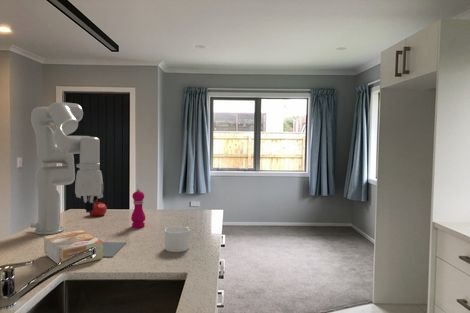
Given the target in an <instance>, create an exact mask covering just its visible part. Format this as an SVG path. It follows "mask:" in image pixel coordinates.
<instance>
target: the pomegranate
mask: <svg viewBox="0 0 470 313" xmlns="http://www.w3.org/2000/svg"><path fill="white" fill-rule="evenodd" d="M98 201H99V200H98V199H96V200H95V202H94V210H93V211H92V212H91V213H89V212H88V214H89V215H90V216H91V217H102V216H104V215H105V214H106V213H107V212H108V211H107V210H108V207H107V205H106V204H105V203H103V202H102V201H100V202H98Z"/></svg>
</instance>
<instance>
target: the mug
mask: <svg viewBox="0 0 470 313" xmlns="http://www.w3.org/2000/svg"><path fill="white" fill-rule="evenodd" d="M190 234H191V227H190V226H171V227H166V228H165V229H164V247H165V248H164V250H165V251H167V252H170V253H171V252H172V253H180V252H181V253H183V252H186V251H188V250H189V249H190Z"/></svg>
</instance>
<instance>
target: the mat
mask: <svg viewBox="0 0 470 313" xmlns="http://www.w3.org/2000/svg"><path fill="white" fill-rule="evenodd" d="M126 244H127V242H118V241H117V242H114V241H113V242H112V241H111V242H110V241H109V242H108V241H107V242H106V241H105V242H103V258H114V256H116V254H118V253H119V252H120V250H122V248H124V246H125V245H126Z"/></svg>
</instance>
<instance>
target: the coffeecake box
mask: <svg viewBox="0 0 470 313" xmlns="http://www.w3.org/2000/svg"><path fill="white" fill-rule="evenodd" d="M43 240H44V241H43V244H44V245H43V253H44V254H45V255H46V256H47V257H48V258H49V259H51V260H52V261H53V262H55V264H57V265H58V263H60V262H62V261H64V260H66V259H68V258H70V257H72V256H73V255H76V254H78V253H80V252H83V251H85V250H87V249H89V248H91V247H96V256H95V257H94V258H93V259H86V260H83V261H81V262H78V263H77V264H74V265H73V266H78V265H81V264H86V263H91V262H93V261H97V260H102V259H103V258H104V257H103V241H102V240H100V239H99V238H97V237H96V236H93V235H91V234H90V233H88V232H86V231H84V230H83V229H79V230H73V231H69V232H68V231H67V232H60V233H55V234H50V235H46V236H45V235H44V237H43ZM73 266H72V267H73Z"/></svg>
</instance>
